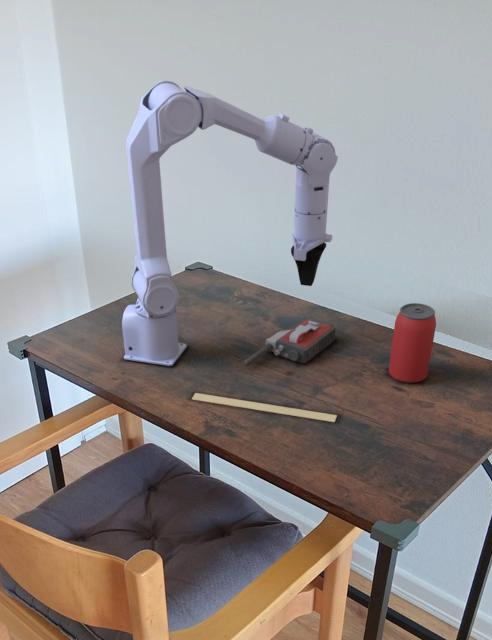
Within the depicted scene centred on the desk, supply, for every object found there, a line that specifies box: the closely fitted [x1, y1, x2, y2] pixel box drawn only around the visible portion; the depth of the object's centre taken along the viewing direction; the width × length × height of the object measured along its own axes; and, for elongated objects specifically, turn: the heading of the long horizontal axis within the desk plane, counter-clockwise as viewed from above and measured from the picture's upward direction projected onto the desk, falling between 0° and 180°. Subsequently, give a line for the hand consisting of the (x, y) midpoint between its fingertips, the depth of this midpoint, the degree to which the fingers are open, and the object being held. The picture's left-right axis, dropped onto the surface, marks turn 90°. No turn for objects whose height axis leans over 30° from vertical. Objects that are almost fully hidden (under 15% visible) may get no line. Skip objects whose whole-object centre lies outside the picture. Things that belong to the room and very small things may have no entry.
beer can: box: [388, 302, 437, 384], centre depth 125 cm, size 7×7×12 cm
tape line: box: [191, 392, 338, 423], centre depth 122 cm, size 24×2×1 cm, turn 71°
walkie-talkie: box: [243, 317, 336, 367], centre depth 135 cm, size 9×4×20 cm
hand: (306, 284), depth 138 cm, fingers closed
